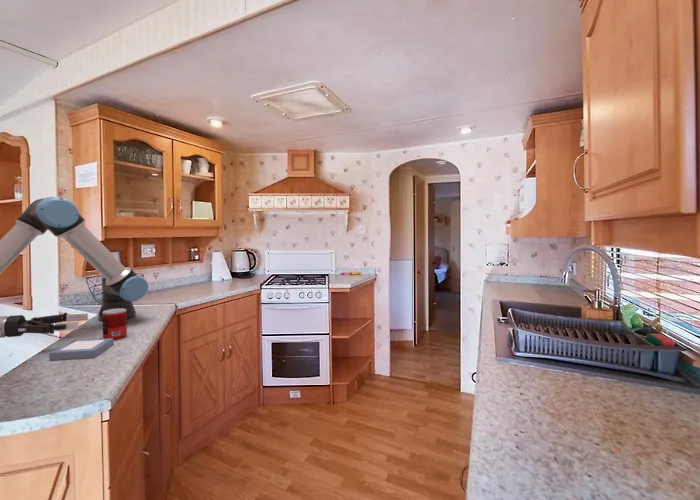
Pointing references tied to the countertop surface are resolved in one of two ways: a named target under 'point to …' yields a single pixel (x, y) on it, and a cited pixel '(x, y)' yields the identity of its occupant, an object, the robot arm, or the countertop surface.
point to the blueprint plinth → (81, 349)
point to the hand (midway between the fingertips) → (83, 320)
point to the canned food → (114, 323)
